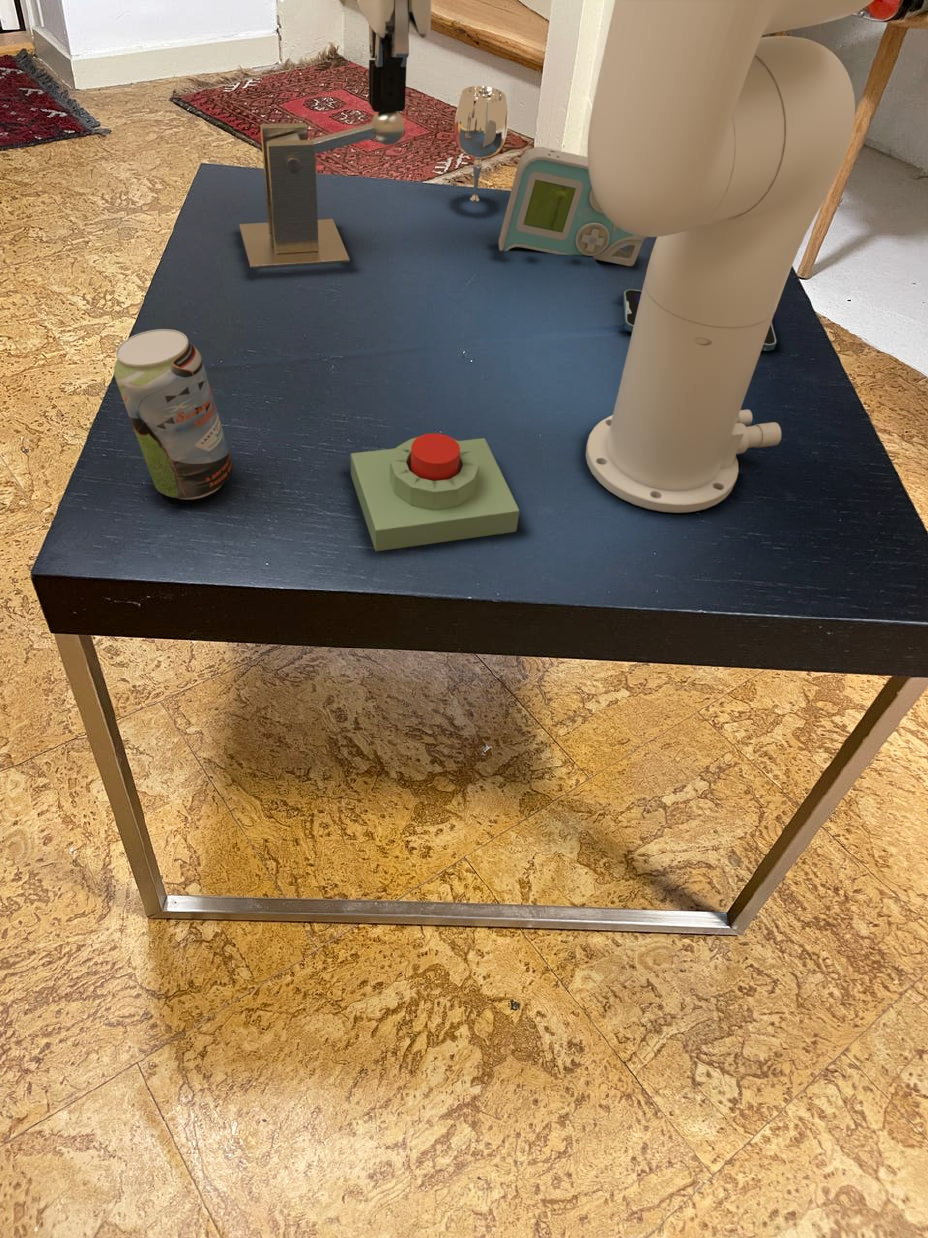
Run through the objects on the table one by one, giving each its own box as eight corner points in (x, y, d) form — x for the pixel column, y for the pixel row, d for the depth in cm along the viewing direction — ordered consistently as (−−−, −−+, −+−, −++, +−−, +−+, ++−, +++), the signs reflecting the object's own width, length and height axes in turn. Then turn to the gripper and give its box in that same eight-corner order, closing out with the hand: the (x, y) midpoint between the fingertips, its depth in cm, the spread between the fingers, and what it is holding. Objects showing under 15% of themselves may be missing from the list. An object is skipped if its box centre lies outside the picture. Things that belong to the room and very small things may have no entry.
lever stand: (333, 229, 103) (330, 113, 94) (350, 270, 97) (348, 151, 88) (239, 234, 100) (227, 116, 92) (251, 277, 95) (239, 155, 86)
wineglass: (506, 215, 108) (519, 102, 99) (459, 220, 107) (468, 106, 98) (487, 193, 112) (497, 82, 103) (441, 197, 110) (448, 85, 101)
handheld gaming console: (630, 285, 104) (497, 258, 101) (627, 272, 106) (496, 246, 103) (668, 184, 96) (525, 152, 93) (663, 172, 98) (523, 141, 95)
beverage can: (217, 517, 71) (196, 379, 62) (124, 498, 72) (90, 359, 63) (247, 466, 75) (231, 330, 66) (158, 449, 76) (131, 312, 67)
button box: (482, 459, 78) (487, 418, 75) (516, 532, 72) (523, 491, 70) (350, 475, 75) (350, 434, 73) (375, 552, 70) (375, 511, 67)
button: (451, 449, 73) (452, 430, 72) (464, 478, 71) (465, 460, 69) (405, 454, 72) (406, 435, 71) (417, 484, 70) (418, 466, 68)
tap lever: (402, 132, 95) (396, 98, 92) (410, 145, 93) (404, 111, 90) (276, 166, 94) (267, 133, 91) (281, 180, 92) (272, 146, 89)
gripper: (460, -107, 74) (445, 139, 87) (413, -150, 83) (406, 78, 97) (366, -110, 72) (364, 142, 86) (328, -154, 81) (333, 79, 95)
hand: (386, 107), depth 91 cm, fingers closed
